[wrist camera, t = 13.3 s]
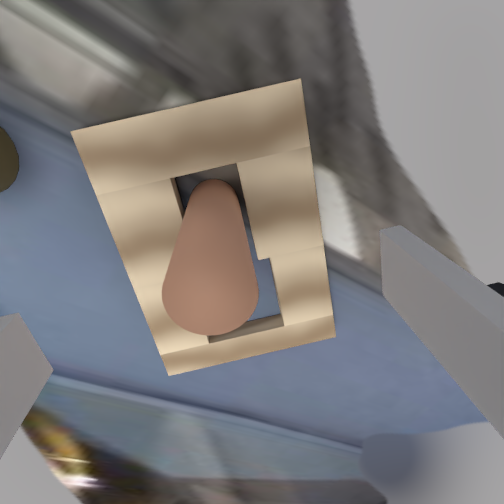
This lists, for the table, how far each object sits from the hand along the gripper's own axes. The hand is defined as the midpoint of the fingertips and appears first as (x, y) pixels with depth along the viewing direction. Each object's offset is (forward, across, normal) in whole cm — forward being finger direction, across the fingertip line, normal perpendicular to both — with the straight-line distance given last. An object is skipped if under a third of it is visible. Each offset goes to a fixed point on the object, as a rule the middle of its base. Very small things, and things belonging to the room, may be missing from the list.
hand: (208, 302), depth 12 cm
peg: (+17, 0, -1) cm, 17 cm away
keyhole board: (+16, 0, -5) cm, 17 cm away
